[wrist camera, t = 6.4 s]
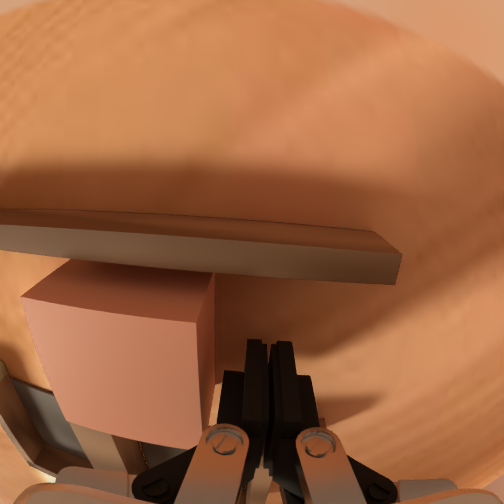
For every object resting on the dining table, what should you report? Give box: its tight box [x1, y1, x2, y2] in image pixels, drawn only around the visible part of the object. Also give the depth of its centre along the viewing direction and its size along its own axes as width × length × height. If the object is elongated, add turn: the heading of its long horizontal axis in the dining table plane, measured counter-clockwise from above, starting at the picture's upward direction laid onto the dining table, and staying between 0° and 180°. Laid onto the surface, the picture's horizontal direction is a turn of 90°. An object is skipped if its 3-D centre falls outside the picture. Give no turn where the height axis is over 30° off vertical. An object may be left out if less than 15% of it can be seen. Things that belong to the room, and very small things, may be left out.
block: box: [21, 259, 215, 450], centre depth 11 cm, size 6×6×4 cm
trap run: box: [0, 209, 402, 504], centre depth 13 cm, size 20×28×2 cm
